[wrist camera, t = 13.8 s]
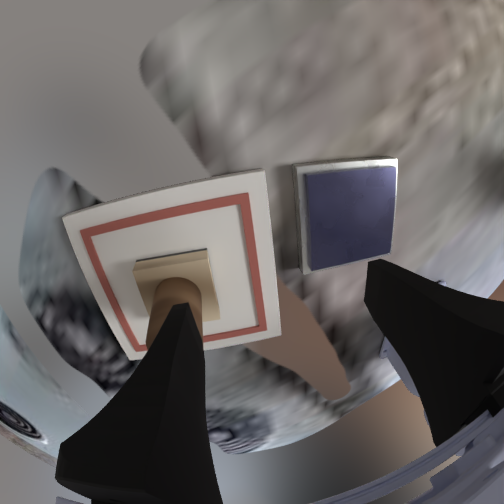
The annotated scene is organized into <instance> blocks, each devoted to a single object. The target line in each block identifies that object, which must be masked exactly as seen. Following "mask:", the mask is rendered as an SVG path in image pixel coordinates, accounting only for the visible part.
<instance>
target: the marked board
mask: <svg viewBox="0 0 504 504" xmlns="http://www.w3.org/2000/svg"><path fill="white" fill-rule="evenodd" d="M62 219H63V222H64V225H65V228H66V231H67V234H68V236H69V239H70V242H71V244H72V247H73V249H74V252H75V254H76V257H77V259H78V262H79V264H80V266H81V269H82V271H83V273H84V275H85V278H86V280H87V282H88V284H89V286H90V288H91V291H92V293H93V295H94V297H95V299H96V301H97V303H98V305H99V307H100V309H101V311H102V313H103V314H104V316H105V318H106V320H107V322H108V324H109V326H110V327H111V329H112V331H113V333H114V335H115V336H116V338H117V340H118V341H119V343H120V345H121V347H122V348H123V350H124V351H125V353H126V355H127V356H128V358H129V360H137V359H143V357H144V356H145V354H146V352H147V351H148V349H147V347H146V335H147V330H148V324H149V319H150V317H149V315H148V312H147V310H146V307H145V305H144V302H143V300H142V297H141V294H140V292H139V289H138V286H137V284H136V281H135V278H134V275H133V272H132V270H133V268H134V265H135V263H136V260H140V259H145V258H151V257H157V256H163V255H169V254H174V253H180V252H186V251H192V250H198V249H204V248H207V250H208V255H209V260H210V265H211V270H212V275H213V280H214V285H215V290H216V294H217V299H218V304H219V310H220V318H221V319H219V320H213V321H207V322H202V324H203V346H204V347H203V349H204V351H205V350H211V349H217V348H222V347H228V346H233V345H238V344H243V343H248V342H253V341H258V340H263V339H267V338H271V337H276V336H280V335H281V325H280V313H279V302H278V290H277V280H276V269H275V259H274V249H273V240H272V230H271V221H270V212H269V203H268V194H267V186H266V177H265V171H264V170H263V169H256V170H250V171H244V172H238V173H232V174H226V175H220V176H215V177H210V178H205V179H200V180H195V181H190V182H185V183H181V184H176V185H171V186H167V187H162V188H158V189H154V190H150V191H145V192H142V193H137V194H134V195H130V196H126V197H122V198H118V199H115V200H111V201H108V202H104V203H101V204H97V205H94V206H90V207H87V208H84V209H81V210H77V211H74V212H71V213H68V214H66V215H65V216H64V217H62Z"/></svg>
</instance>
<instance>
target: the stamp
mask: <svg viewBox="0 0 504 504" xmlns="http://www.w3.org/2000/svg"><path fill="white" fill-rule="evenodd" d="M132 272H133V275H134V278H135V281H136V284H137V286H138V289H139V292H140V294H141V297H142V300H143V302H144V305H145V307H146V310H147V312H148V315H149V317H150V319H149V324H148V330H147V335H146V347H147V349H149V348H150V346H151V344H152V342H153V341H154V339H155V337H156V335H157V334H158V332H159V330H160V328H161V326H162V324H163V322H164V321H165V319H166V317H167V315H168V313H169V311H170V309H171V307H172V306H173V305H176V304H181V303H187V302H189V305H190V308H191V311H192V313H193V316H194V319H195V322H196V324H197V327H198V330H199V333H200V335H201V338H202V341H203V324H202V322H207V321H213V320H219V319H221V318H220V310H219V304H218V299H217V294H216V290H215V285H214V280H213V275H212V270H211V265H210V260H209V255H208V250H207V248H204V249H198V250H192V251H186V252H180V253H174V254H169V255H163V256H157V257H151V258H145V259H140V260H136V263H135V265H134V268H133V270H132ZM203 347H204V346H203Z"/></svg>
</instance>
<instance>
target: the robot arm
mask: <svg viewBox="0 0 504 504" xmlns="http://www.w3.org/2000/svg"><path fill="white" fill-rule="evenodd" d="M364 302H365V304H366V306H367V308H368V310H369V312H370V314H371V316H372V318H373V319H374V321H375V322H376V324H377V325H378V327H379V328H380V330H381V331H382V332H383V334H384V335H385V337H384V341H383V344H382V348H381V351H380V355H379V357H380V359H383V358H386V357H387V358H388V359H389V361H390V362H391V364H392V366H393V367H394V369H395V370H396V372H397V373H398V375H399V376H400V378H401V379H402V381H403V383H404V384H405V386H406V387H407V388H408V390H409V391H410V392H411V393H413V394H414V395H416V396H418V397H420V398H421V401H422V404H423V407H424V416H425V419H426V421H427V423H428V425H429V427H430V429H431V433H432V437H433V442H434V444H435V446H436V448H435V449H433V450H431V451H430V452H428V453H426V454H425V455H423V456H421V457H420V458H418V459H416V460H414V461H413V462H411V463H409V464H407V465H405V466H403V467H401V468H400V469H397V470H396V471H393V472H392V473H389V474H387V475H385V476H383V477H381V478H379V479H377V480H374V481H372V482H370V483H367V484H365V485H363V486H360V487H357V488H355V489H352V490H350V491H347V492H344V493H341V494H339V495H335V496H333V497H329V498H326V499H323V500H320V501H316V502H313V503H309V504H366V503H368V502H371V501H373V500H376V499H378V498H380V497H382V496H384V495H386V494H388V493H391V492H393V491H395V490H396V489H399V488H400V487H403V486H404V485H406V484H408V483H410V482H412V481H414V480H415V479H417V478H419V477H420V476H422V475H424V474H425V473H427V472H429V471H431V470H432V469H434V468H435V467H437V466H438V465H440V464H441V463H443V462H444V461H446V460H447V459H449V458H450V457H452V456H453V455H454V454H456V456H461V457H460V458H459V459H457V460H456V461H455V462H453V463H452V464H450V465H449V466H447V467H446V468H445V469H443V470H442V471H440V472H438V473H437V474H436V475H434V476H432V477H431V478H430V481H431V483H432V485H433V488H431V489H430V490H428V491H426V492H424V493H423V494H421V495H419V496H417V497H416V498H414V499H412V500H410V501H408V502H406V503H405V504H504V302H503V301H496V300H491V299H486V298H482V297H477V296H474V295H470V294H467V293H463V292H460V291H457V290H454V289H451V288H449V287H446V282H445V281H441V282H439V283H436V282H434V281H431V280H429V279H427V278H424V277H422V276H420V275H418V274H415V273H413V272H411V271H409V270H407V269H404V268H402V267H400V266H398V265H395V264H393V263H391V262H388V261H385V260H383V259H378V260H374V261H370V262H368V270H367V280H366V289H365V297H364ZM55 479H56V480H57V482H58V483H59V484H61V485H62V486H64V487H66V488H68V489H70V490H72V491H74V492H76V493H78V494H81V495H82V496H84V497H87V498H89V499H91V504H223V502H222V498H221V494H220V491H219V486H218V483H217V478H216V474H215V469H214V465H213V459H212V454H211V449H210V443H209V437H208V430H207V423H206V408H205V358H204V349H203V341H202V338H201V335H200V333H199V330H198V327H197V324H196V322H195V319H194V316H193V313H192V311H191V308H190V305H189V302H187V303H181V304H176V305H173V306H172V307H171V309H170V311H169V313H168V315H167V317H166V319H165V321H164V322H163V324H162V326H161V328H160V330H159V332H158V334H157V335H156V337H155V339H154V341H153V342H152V344H151V346H150V348H149V349H148V351H147V352H146V354H145V356H144V357H143V359H142V360H141V362H140V364H139V365H138V367H137V368H136V369H135V371H134V372H133V374H132V375H131V377H130V378H129V379H128V380H127V382H126V383H125V384H124V386H123V387H122V388H121V389H120V390H119V391H118V393H117V394H116V395H115V396H114V397H113V398H112V399H111V400H110V402H109V403H108V404H107V405H106V406H105V407H104V408H103V409H102V410H101V411H100V412H99V413H98V414H97V415H96V416H95V417H94V418H92V419H91V420H90V421H89V422H88V423H87V424H86V425H85V426H83V427H82V428H81V429H80V430H78V431H77V432H76V433H74V434H73V435H72V436H70V437H69V438H68V439H66V440H65V441H64V442H62V443H61V444H60V449H59V454H58V460H57V466H56V474H55ZM56 504H83V503H79V502H75V501H72V500H68V499H64V498H61V497H56Z"/></svg>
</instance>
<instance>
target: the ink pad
mask: <svg viewBox="0 0 504 504" xmlns="http://www.w3.org/2000/svg"><path fill="white" fill-rule="evenodd" d="M292 172H293V184H294V196H295V209H296V224H297V240H298V259H299V269H300V271H301V272H302V274H303V275H305V274H309V273H314V272H318V271H323V270H327V269H331V268H336V267H340V266H344V265H349V264H353V263H357V262H361V261H365V260H369V259H373V258H377V257H382V256H385V255H389V254H391V249H392V241H393V232H394V222H395V209H396V193H397V159H396V158H393V157H390V156H388V157H368V158H353V159H341V160H329V161H319V162H310V163H301V164H292Z"/></svg>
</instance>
